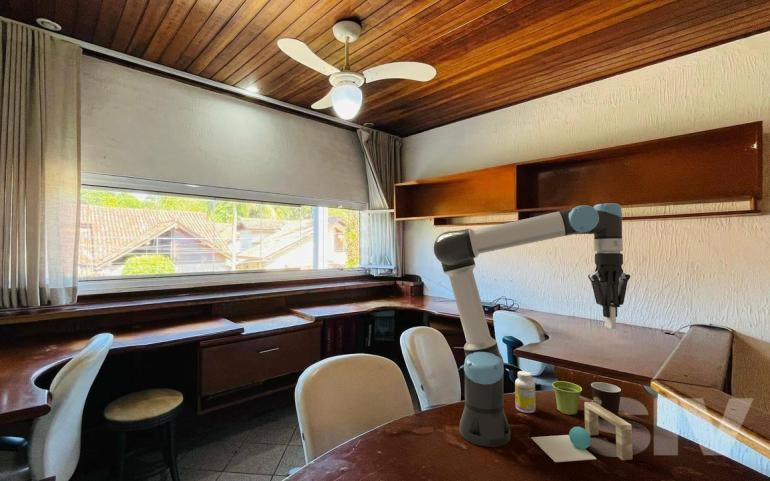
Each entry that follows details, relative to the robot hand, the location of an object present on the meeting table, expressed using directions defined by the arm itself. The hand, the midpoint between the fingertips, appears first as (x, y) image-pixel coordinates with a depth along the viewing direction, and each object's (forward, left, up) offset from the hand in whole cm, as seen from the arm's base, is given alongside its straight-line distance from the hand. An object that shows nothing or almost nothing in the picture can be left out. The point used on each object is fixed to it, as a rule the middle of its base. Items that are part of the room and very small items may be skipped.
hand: (610, 327), depth 107 cm
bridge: (-7, -6, -32) cm, 34 cm away
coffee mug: (+6, +11, -33) cm, 35 cm away
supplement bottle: (-19, +18, -33) cm, 42 cm away
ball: (-16, -6, -30) cm, 34 cm away
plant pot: (-5, +15, -33) cm, 36 cm away
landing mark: (-21, -6, -32) cm, 39 cm away
